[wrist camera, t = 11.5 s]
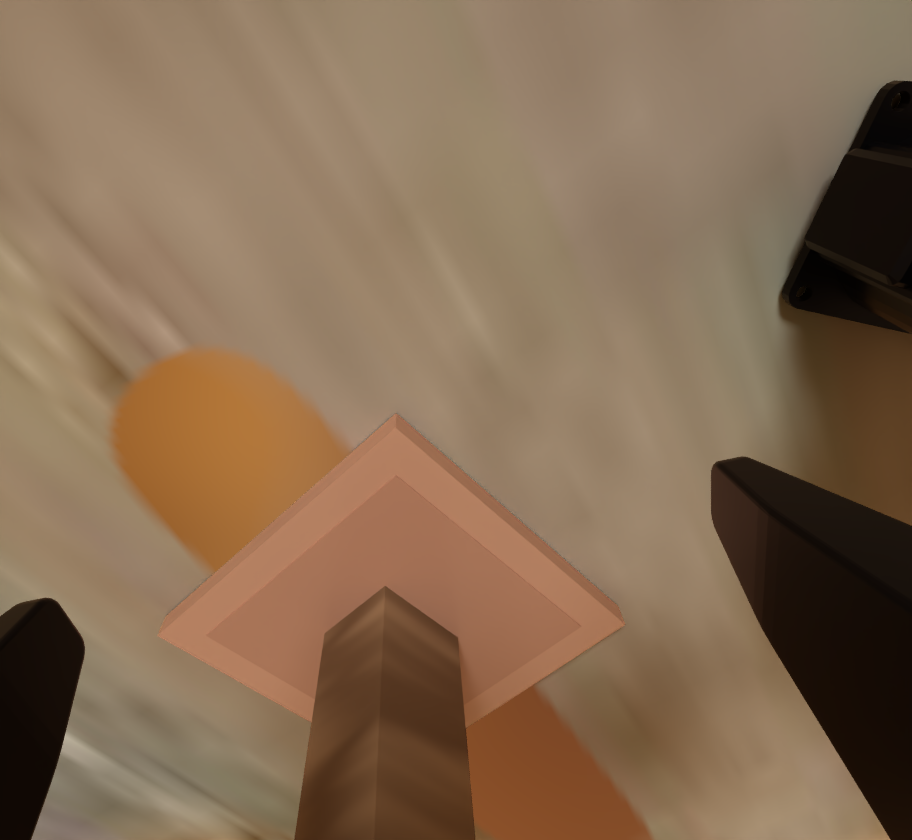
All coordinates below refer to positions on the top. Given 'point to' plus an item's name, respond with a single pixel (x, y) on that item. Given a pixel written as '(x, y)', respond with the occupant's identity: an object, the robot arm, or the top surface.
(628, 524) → the top surface
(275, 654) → the trivet
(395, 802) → the walnut block
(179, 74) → the top surface
